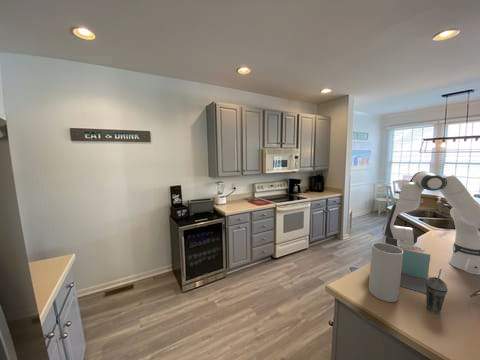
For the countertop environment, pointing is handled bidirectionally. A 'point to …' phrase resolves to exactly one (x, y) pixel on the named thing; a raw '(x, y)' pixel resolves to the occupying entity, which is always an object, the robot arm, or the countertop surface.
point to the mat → (413, 283)
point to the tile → (415, 263)
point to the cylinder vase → (385, 271)
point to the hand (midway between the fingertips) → (410, 258)
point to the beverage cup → (435, 293)
